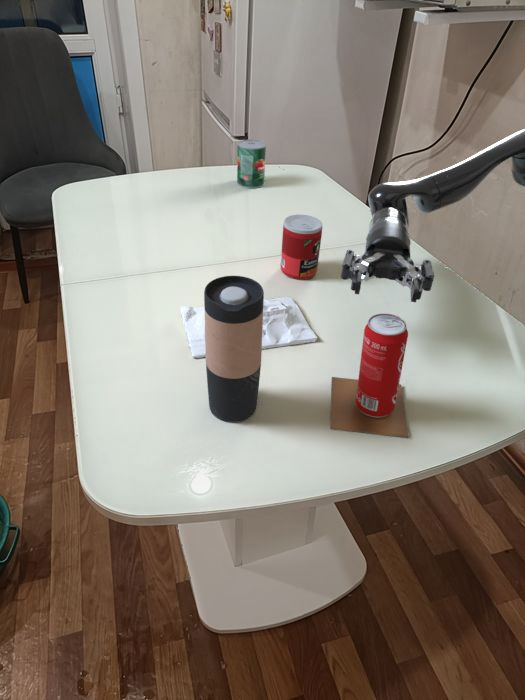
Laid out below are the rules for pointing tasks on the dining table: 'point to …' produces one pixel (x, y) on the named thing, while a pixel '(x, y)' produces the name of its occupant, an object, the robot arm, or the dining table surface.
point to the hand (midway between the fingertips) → (385, 293)
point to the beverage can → (381, 364)
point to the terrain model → (278, 328)
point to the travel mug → (233, 346)
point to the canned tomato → (251, 163)
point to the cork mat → (354, 420)
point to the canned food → (300, 246)
